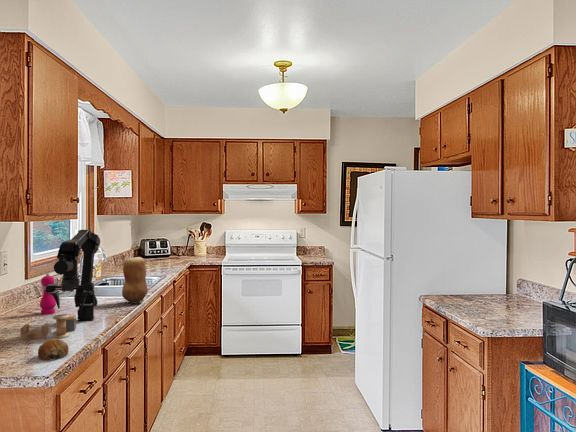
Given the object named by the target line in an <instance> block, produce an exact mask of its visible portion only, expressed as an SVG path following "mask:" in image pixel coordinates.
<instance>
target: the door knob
mask: <svg viewBox="0 0 576 432" xmlns="http://www.w3.org/2000/svg"><path fill="white" fill-rule="evenodd" d="M69 315H70V314H65V313H61V314H60V313H59V314H55V315H53V316H52V320H55V327H56V329H55V331H56V332H55V333H54V334H53V335H52V339H54V338H56V339H65V338H68V337H70V333H69V332H67V331H66V319H67V318H69Z"/></svg>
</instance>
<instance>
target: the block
mask: <svg viewBox="0 0 576 432" xmlns="http://www.w3.org/2000/svg"><path fill="white" fill-rule="evenodd" d="M68 315H69V318H67V319H66V332H74V331H76V330H77V320H76V319H77V315H76V314H68Z"/></svg>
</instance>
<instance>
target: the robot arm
mask: <svg viewBox="0 0 576 432" xmlns="http://www.w3.org/2000/svg"><path fill="white" fill-rule="evenodd" d="M100 244H101V239H100V237H99V235H98V234H96V233H94V232H92V230H90V229H79V230H78V231H77V233H76V234H75V235H74V236H73V237H71V239H68V240H65V241H62V242H61V243H60V245H59V248H58V253H57V255H56V259H57V261H56V262H55V263H54V265H53V271H54V273H56V275H62V280H61V283H60V285H58V283H54V284H49V285H47V286H46V289H45V292H46V293H49V294H50V295H52V296H53V297H54V299H55V301H56V306H57V308H58V309H60V307H61V301H60V291H61V292H74V291H75V293H74V298H73V300H74V306H75V308H78V309H77V310H76V311H77V321H78V322H84V321H85V322H86V321H87V322H88V321H94V320H95V308H96V307H98V299H97V296H96V294H95V283H94V282H93V273H94V263H95V262H94V261H95V260H94V259H95V255H96V253H97V252H98V251H99V250H100V249H99V247H100ZM81 251H82V253H83V257H82V269H81V276H80V278H78V277H79V276H78V274H79V273H78V268H79V267H78V264H79V263H78V260H79V256H80V253H81Z"/></svg>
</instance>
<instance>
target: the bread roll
mask: <svg viewBox="0 0 576 432" xmlns="http://www.w3.org/2000/svg"><path fill="white" fill-rule="evenodd" d="M67 355H69V346H68V343H67V342H66V341H65V340H63V339H61V338H50V339H46V341H44V342H43V343H42V344H40V345H39V347H38V349H37V356H38V359H39V360H42V361H51V360H50V359H55V360H58V358H59V359H62V358H64V356H65V357H67Z"/></svg>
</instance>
